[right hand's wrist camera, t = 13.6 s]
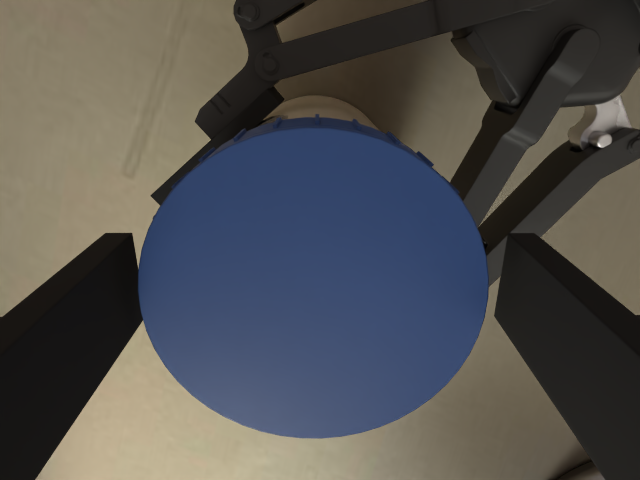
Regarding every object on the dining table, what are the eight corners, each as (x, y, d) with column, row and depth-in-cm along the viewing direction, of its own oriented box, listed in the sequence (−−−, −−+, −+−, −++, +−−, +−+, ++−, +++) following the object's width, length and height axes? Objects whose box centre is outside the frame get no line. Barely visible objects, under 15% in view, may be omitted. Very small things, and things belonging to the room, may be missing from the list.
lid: (491, 354, 15) (516, 397, 13) (228, 422, 16) (216, 471, 14) (431, 66, 12) (454, 68, 10) (104, 174, 13) (67, 193, 11)
